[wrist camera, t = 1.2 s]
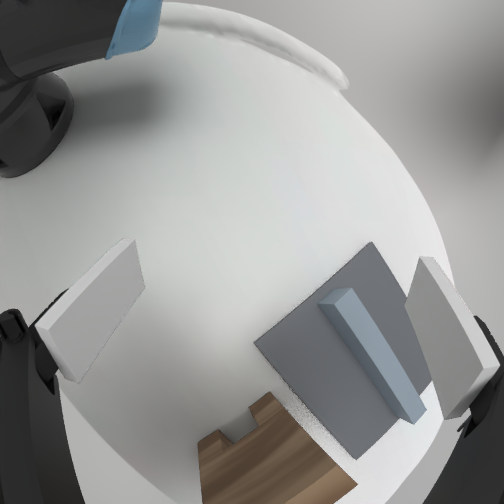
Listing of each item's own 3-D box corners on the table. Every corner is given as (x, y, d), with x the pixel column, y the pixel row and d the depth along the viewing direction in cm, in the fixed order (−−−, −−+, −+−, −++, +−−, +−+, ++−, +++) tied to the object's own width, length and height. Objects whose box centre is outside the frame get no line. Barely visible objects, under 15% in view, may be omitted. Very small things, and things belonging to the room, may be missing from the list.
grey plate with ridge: (253, 342, 29) (264, 350, 25) (369, 242, 34) (391, 235, 29) (354, 458, 29) (371, 473, 25) (439, 365, 33) (461, 369, 29)
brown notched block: (197, 442, 26) (207, 543, 11) (269, 391, 29) (337, 464, 13) (215, 459, 26) (237, 558, 11) (285, 409, 29) (358, 484, 13)
